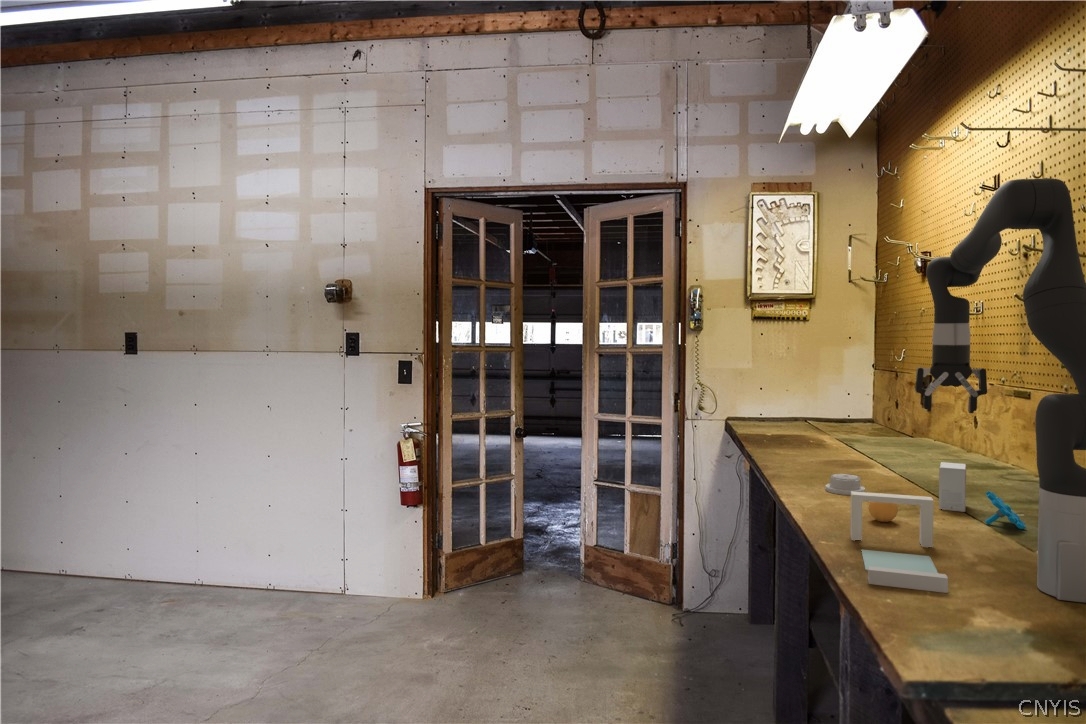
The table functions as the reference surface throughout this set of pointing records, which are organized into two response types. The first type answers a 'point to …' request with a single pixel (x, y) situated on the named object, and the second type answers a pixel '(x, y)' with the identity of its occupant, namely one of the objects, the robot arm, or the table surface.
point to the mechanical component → (844, 484)
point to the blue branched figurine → (1003, 511)
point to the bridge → (923, 501)
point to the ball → (883, 511)
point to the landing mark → (898, 561)
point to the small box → (952, 486)
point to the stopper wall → (908, 579)
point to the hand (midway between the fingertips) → (949, 412)
